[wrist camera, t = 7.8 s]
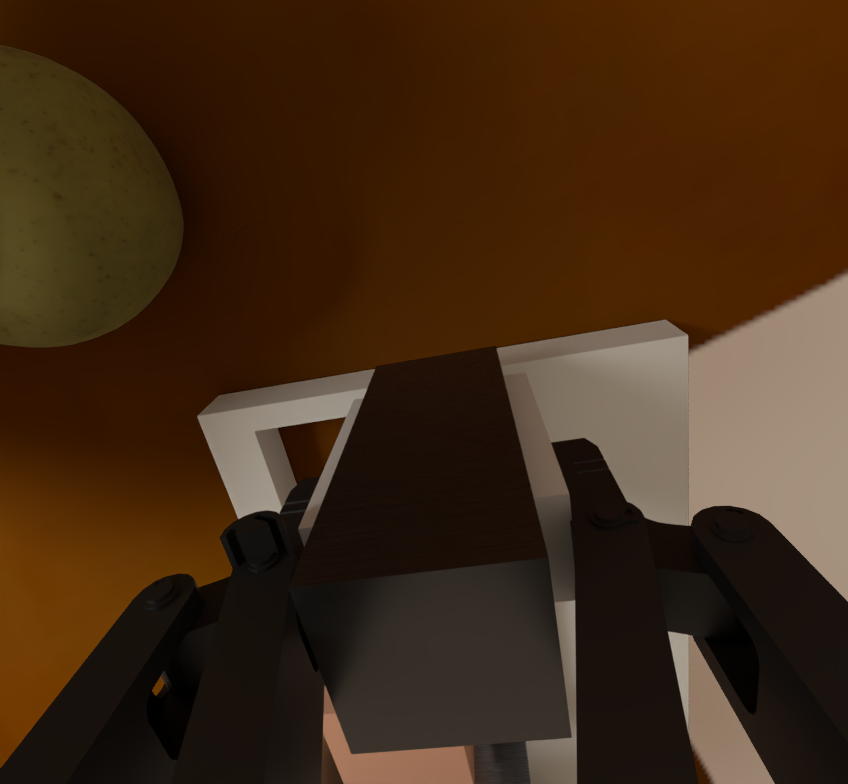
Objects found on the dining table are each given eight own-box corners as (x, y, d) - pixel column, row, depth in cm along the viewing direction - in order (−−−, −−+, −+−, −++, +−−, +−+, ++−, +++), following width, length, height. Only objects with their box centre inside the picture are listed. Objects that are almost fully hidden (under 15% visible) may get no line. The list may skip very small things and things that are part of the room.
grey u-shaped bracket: (276, 382, 18) (84, 612, 8) (495, 345, 17) (548, 557, 8) (389, 726, 24) (350, 1064, 15) (550, 712, 23) (614, 1064, 14)
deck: (218, 395, 22) (196, 416, 20) (665, 319, 19) (688, 335, 18) (365, 782, 31) (360, 820, 30) (674, 761, 29) (689, 801, 27)
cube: (343, 607, 23) (315, 715, 19) (453, 595, 23) (452, 703, 18) (368, 684, 25) (350, 799, 20) (471, 675, 24) (475, 791, 20)
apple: (70, 321, 21) (-108, 391, 14) (-31, 96, 18) (-316, 52, 11) (249, 291, 20) (148, 351, 13) (176, 49, 17) (-3, -29, 10)
